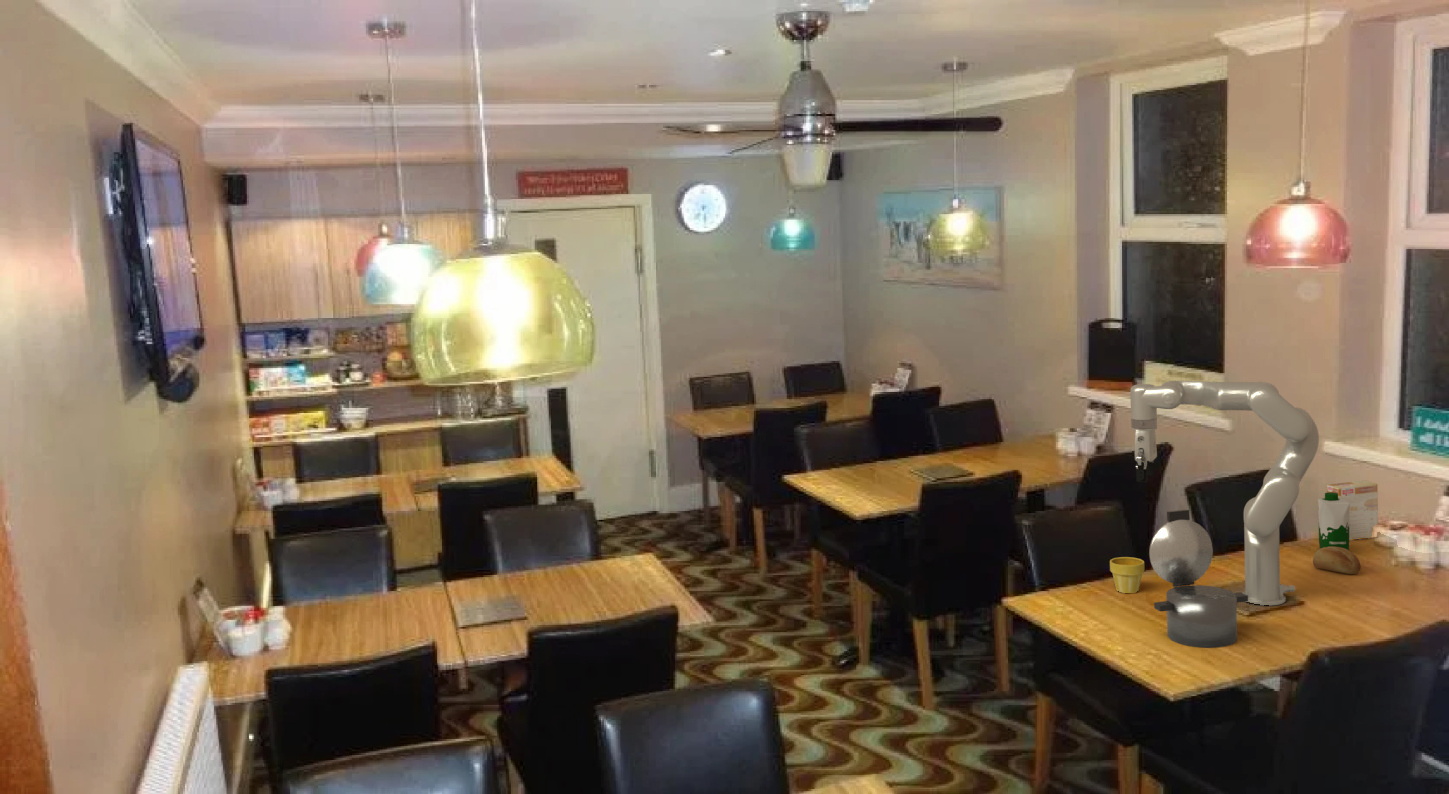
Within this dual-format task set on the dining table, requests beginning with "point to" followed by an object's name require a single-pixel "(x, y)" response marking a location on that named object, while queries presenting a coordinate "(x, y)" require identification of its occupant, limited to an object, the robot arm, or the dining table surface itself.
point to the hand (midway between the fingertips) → (1145, 478)
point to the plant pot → (1127, 573)
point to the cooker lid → (1180, 550)
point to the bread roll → (1336, 560)
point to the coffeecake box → (1359, 506)
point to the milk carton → (1333, 521)
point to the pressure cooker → (1201, 615)
